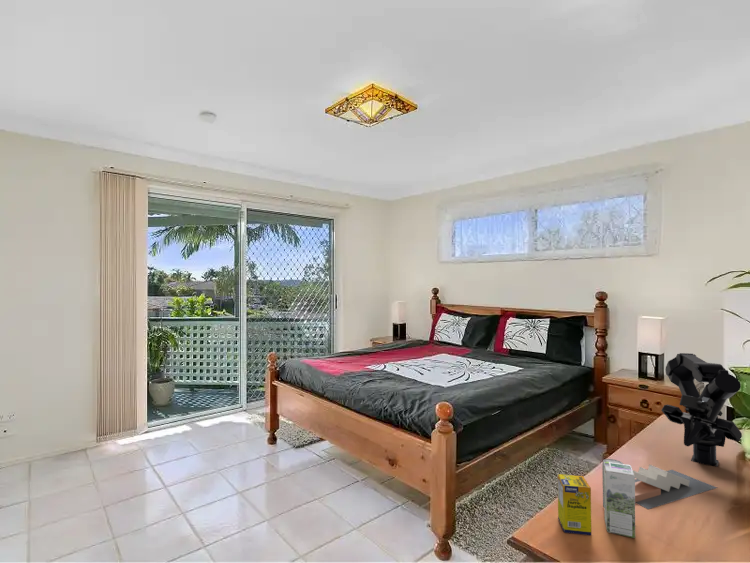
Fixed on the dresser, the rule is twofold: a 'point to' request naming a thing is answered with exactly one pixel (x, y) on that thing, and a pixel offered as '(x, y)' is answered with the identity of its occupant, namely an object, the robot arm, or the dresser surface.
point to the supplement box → (574, 504)
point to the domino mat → (676, 492)
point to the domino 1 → (651, 481)
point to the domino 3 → (668, 475)
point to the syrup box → (619, 499)
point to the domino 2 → (659, 477)
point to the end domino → (645, 491)
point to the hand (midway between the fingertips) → (685, 445)
